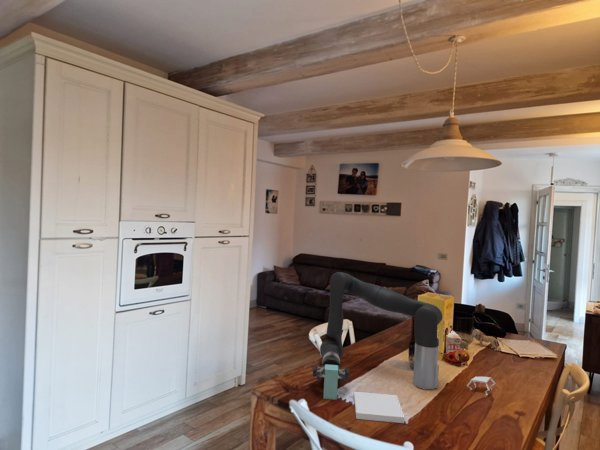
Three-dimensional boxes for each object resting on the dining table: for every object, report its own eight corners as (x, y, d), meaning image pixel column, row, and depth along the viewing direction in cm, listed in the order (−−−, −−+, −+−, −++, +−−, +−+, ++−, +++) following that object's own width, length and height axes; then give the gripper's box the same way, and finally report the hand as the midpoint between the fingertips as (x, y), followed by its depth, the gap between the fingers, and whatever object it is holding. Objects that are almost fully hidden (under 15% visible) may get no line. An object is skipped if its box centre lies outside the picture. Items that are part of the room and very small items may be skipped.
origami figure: (484, 398, 150) (485, 385, 150) (465, 389, 157) (465, 377, 157) (501, 391, 156) (502, 379, 156) (482, 383, 164) (482, 372, 163)
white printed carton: (435, 346, 209) (436, 324, 208) (446, 347, 208) (448, 325, 208) (446, 361, 187) (448, 336, 187) (459, 362, 187) (461, 337, 187)
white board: (396, 400, 144) (396, 395, 144) (404, 423, 128) (404, 417, 128) (353, 396, 146) (354, 391, 146) (356, 418, 130) (356, 413, 130)
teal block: (336, 393, 148) (338, 365, 147) (336, 399, 143) (338, 370, 143) (323, 392, 148) (325, 364, 148) (323, 398, 143) (324, 369, 143)
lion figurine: (470, 345, 214) (471, 329, 214) (473, 343, 218) (474, 327, 218) (500, 352, 205) (501, 335, 205) (501, 349, 209) (502, 333, 209)
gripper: (314, 353, 161) (312, 368, 145) (348, 356, 160) (350, 371, 144) (313, 370, 161) (311, 388, 145) (347, 373, 160) (349, 391, 144)
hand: (330, 379), depth 144 cm, fingers open, 8 cm apart
